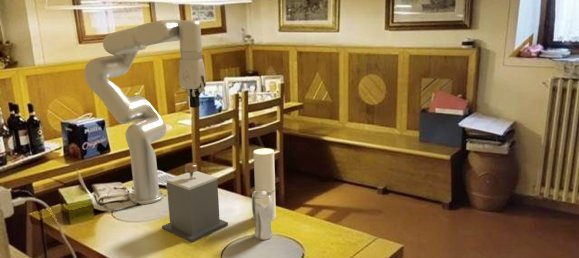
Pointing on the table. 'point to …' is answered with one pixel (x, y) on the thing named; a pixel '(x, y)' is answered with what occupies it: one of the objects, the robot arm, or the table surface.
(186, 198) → the block
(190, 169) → the plunger
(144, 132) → the robot arm
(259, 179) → the cylindrical container
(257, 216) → the beer glass
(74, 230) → the table surface
